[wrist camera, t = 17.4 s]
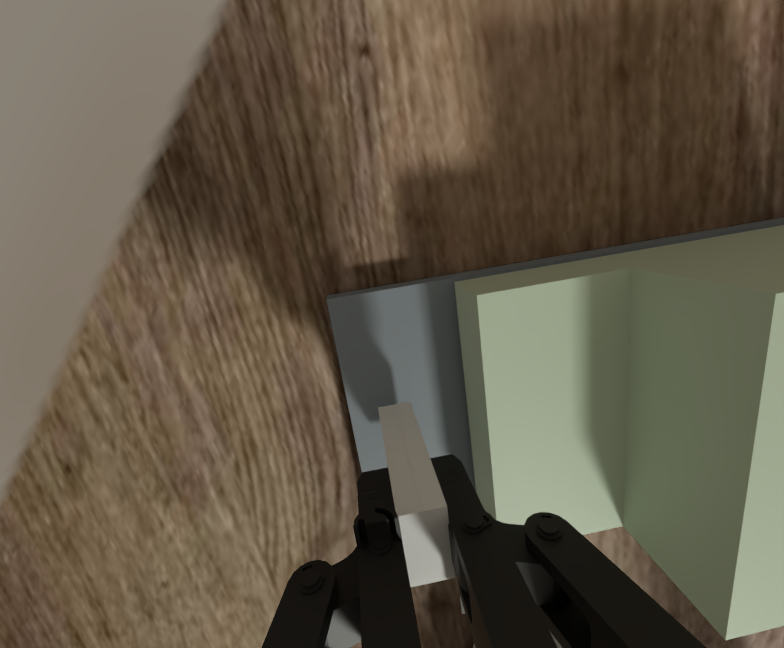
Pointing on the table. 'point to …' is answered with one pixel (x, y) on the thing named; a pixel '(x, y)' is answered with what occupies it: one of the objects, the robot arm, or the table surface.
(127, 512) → the table surface
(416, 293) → the housing base
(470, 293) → the sage cover
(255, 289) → the table surface
